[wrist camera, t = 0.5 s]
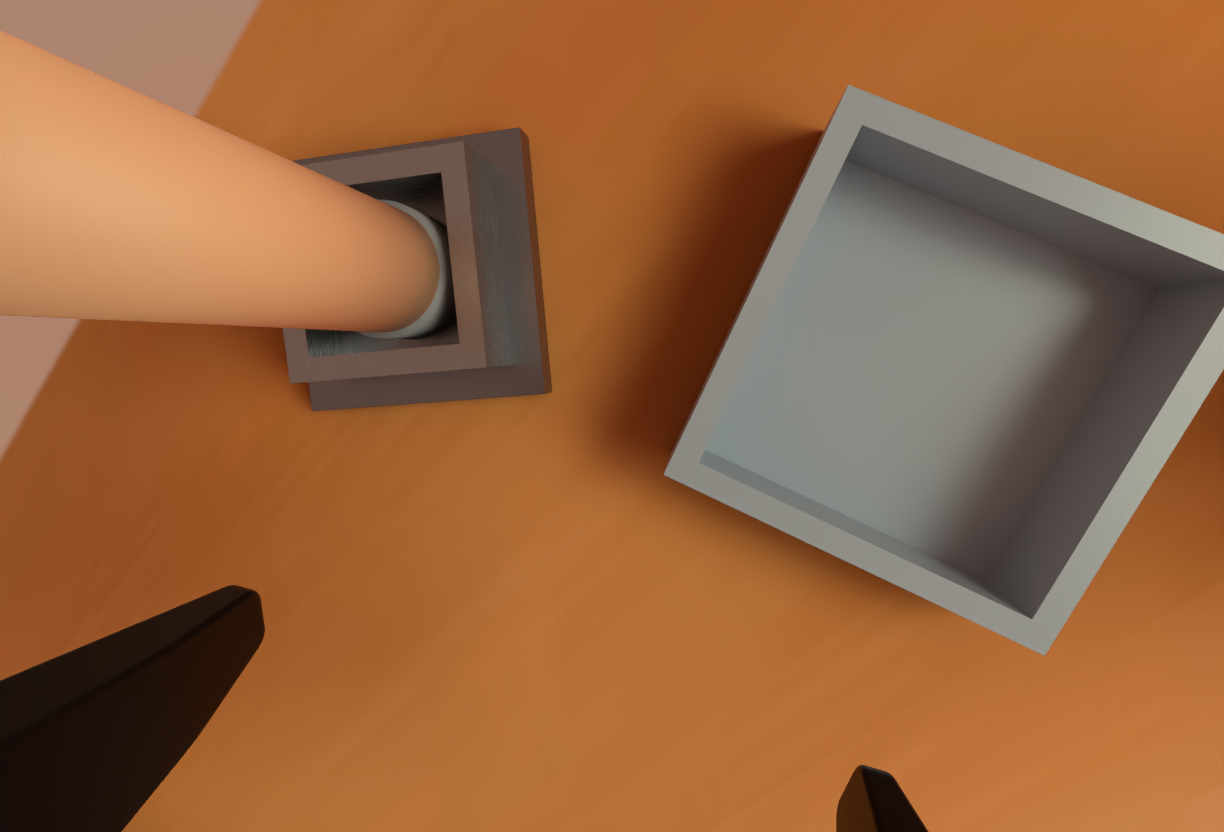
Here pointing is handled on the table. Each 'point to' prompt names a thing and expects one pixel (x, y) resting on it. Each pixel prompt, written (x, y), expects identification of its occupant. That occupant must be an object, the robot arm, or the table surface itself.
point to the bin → (958, 367)
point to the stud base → (481, 270)
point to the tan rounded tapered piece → (192, 220)
